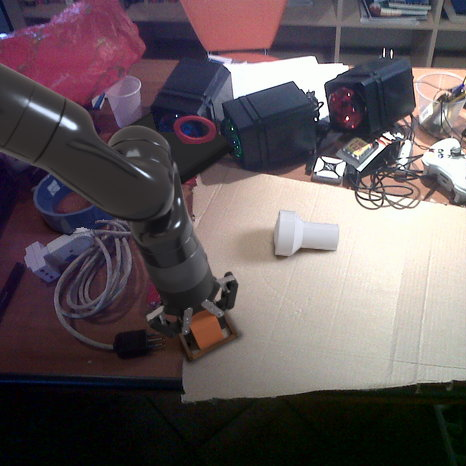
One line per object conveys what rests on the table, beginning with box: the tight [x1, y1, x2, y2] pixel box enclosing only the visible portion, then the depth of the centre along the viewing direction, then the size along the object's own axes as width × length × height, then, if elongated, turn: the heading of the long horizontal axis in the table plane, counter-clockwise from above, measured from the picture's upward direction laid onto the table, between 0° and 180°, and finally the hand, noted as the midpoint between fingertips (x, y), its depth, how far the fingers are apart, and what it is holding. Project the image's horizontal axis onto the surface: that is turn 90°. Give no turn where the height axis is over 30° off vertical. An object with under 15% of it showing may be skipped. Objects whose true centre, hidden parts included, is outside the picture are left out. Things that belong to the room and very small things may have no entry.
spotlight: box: [273, 209, 340, 257], centre depth 86 cm, size 8×11×8 cm
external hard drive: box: [125, 111, 234, 185], centre depth 108 cm, size 14×23×3 cm, turn 49°
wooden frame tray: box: [178, 311, 239, 362], centre depth 80 cm, size 8×17×2 cm, turn 30°
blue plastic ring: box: [32, 172, 114, 235], centre depth 96 cm, size 15×15×6 cm
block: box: [190, 309, 225, 351], centre depth 75 cm, size 4×4×6 cm
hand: (206, 331), depth 76 cm, fingers closed on block, 4 cm apart
